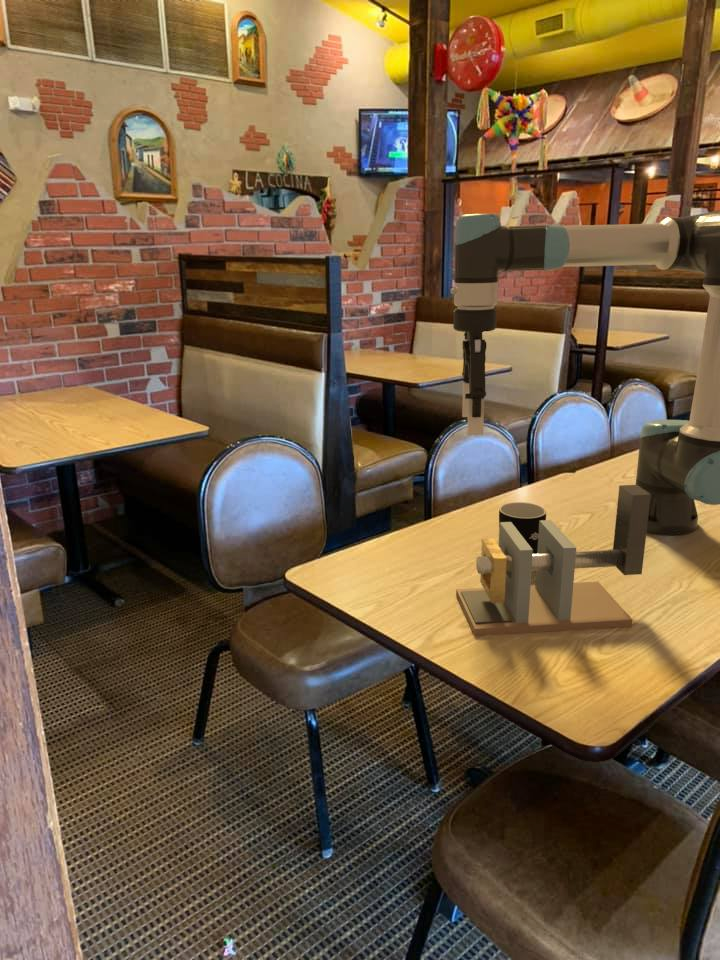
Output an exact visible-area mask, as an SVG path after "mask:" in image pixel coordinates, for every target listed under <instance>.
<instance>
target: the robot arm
mask: <svg viewBox="0 0 720 960" xmlns="http://www.w3.org/2000/svg"><path fill="white" fill-rule="evenodd" d="M455 222H456V223H455V233H454V241H453V245H454V285H453V286H454V287H453V288H451V289H450V294H452V295H453V304H454V306H456V307H457V308H455V309H454V310H453V325H452V326H453V330H454V331H456V332H462V333H464V334H463V336H464V339H462V343H461V344H462V357H463V362H462V363H463V364H462V372H461V376H462V381H463V383H462V408H461V409H462V410H461V413H462V415H461V417H462V418H467V428H466V429H467V432H466V434H467V436H483V435H484V417H485V398H486V395H487V391H486V358H487V357H486V351H487V341H486V339H483V332H493V331H494V330H496V329H497V318H498V316H497V315H498V311H497V310H496V308H495V306H497V305H498V296H499V295H498V293H499V292H498V291H499V272H530V271H531V272H535V271H537V272H538V271H539V272H540V271H543V272H547V271H552V270H553V271H555V270H561V269H562V268H564V267H565V268H566V267H567V268H571V267H577V268H578V267H609V266H610V267H611V266H615V267H617V266H643V265H644V266H649V265H650V266H651V265H655V267H656V268H657V269H659V270H662V271H663V270H665V271H666V270H677V271H685V272H686V271H687V272H692V273H698V274H703V281H702V287H703V288H704V290H705V291H706V292H707V293H708V295H709V301H708V306H707V311H706V312H707V313H706V319H705V323H704V324H705V325H704V330H703V337H702V343H701V348H700V349H701V350H700V354H699V355H700V356H699V360H698V368H697V372H696V379H695V384H694V389H693V390H694V391H693V397H692V403H691V408H690V415H689V420H687V419H685V420H684V419H683V420H682V419H656V420H650V421H646V422H645V423H644V424H643V425H642V427H641V432H640V436H639V446H638V447H639V448H638V456H637V457H638V458H637V460H638V461H637V469H636V478H635V485H638V486H639V487H641V488H642V489H644V490H645V491H647V492H648V493H649V494H651V498H650V507H649V515H648V524H647V533H650V534H651V533H652V534H656V535H664V536H665V535H668V536H671V535H672V536H674V535H677V536H678V535H679V536H680V535H686V534H689V533H692V532H694V531H696V529H697V528H698V522H699V516H698V515H699V514H698V511H697V506H696V502H695V501H697V502H701V503H702V504H705V505H710V506H711V505H712V506H718V505H719V506H720V210H715V211H714V210H713V211H709V212H704V213H703V212H702V213H700V214H699V213H698V214H694V215H686V216H680V217H666V218H664V219H662V220H660V222H659V223H631V224H629V223H628V224H626V223H625V224H624V223H623V224H593V225H592V224H589V225H588V224H587V225H561V224H549V223H548V224H531V225H530V224H527V225H511V226H509V225H502V223H501V217H500V216H499V214H498V213H472V214H471V213H469V214H462V215H459V217H458V218H457V219H456V221H455Z"/></svg>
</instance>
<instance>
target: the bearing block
mask: <svg viewBox="0 0 720 960" xmlns="http://www.w3.org/2000/svg"><path fill="white" fill-rule="evenodd" d="M498 546H499V547H500V549H501V550H502V552H503V553H504V555H511V557H512V568H511V572H506V580H505V600H504V603H496V604H492V602H491V600H490V599H489V597H488V595H487V593H486V591H485V590H484V588H483V587H474V588H473V587H472V588H458V589H457V588H455V589H456V590H455V595H456V598H457V599H458V600H457V601H458V602H459V604H460V607H461V609H462V611H463V613H464V615H465V617H466V619H467V622H468V624H469V626H470V629H471V630H472V633H473V635H474V636H489V635H490V636H492V635H505V634H506V635H508V634H510V635H511V634H524V633H537V632H538V633H541V632H555V631H557V632H559V631H574V630H575V631H576V630H592V629H606V628H609V629H610V628H623V627H626V628H627V627H633V621H634V620H633V618H632V617H631V616H630V615H629V614H628V613H627V611H625V609H624V608H623V607H622V606H621V605H620V604H619V602H617V600H616V599H615V598H614V597H613V596H612V595H611V594H610V592H608V591H607V589H606V588H605V587H604V586H603V585H602V584H601V583H600V582H599V581H586V582H585V581H584V582H574V580H575V572H576V571H575V559H576V552H577V546H576V545H575V544H573V542H572V541H571V540H570V539H569V538H568V537H567V535H565V534H564V533H563V531H561V529H560V528H559V527H558V526H557V525H556V524H555V522H553V521H552V520H551V519H546V520H540V521H539V535H538V551H537V554H540V553H553V555H554V563H553V570H539V571H535V581H534V582H535V584H532V572H533V571H532V555H533V549H532V548H531V547H530V546H529V544H528V543H527V542H526V540H525V539H524V538H523V537H522V535H521V534H520V533H519V531H518V530H517V529H516V528H515V526H514V525H513V524H512V522H500V525H499V524H498Z"/></svg>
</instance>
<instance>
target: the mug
mask: <svg viewBox="0 0 720 960" xmlns="http://www.w3.org/2000/svg"><path fill="white" fill-rule="evenodd" d="M540 520H547V510H546V509H545V507H543V506H541V505H538V504H535V503H531V502H522V501H519V502H518V501H517V502H509V503H505V504H502V505H501V506H500V507H499V512H498V526H499V525H500V522H512V524H513V525H514V526H515V528H516V529H517V530H518V531H519V533H520V534H521V535H522V537H523V538H524V539H525V540H526V542H527V543H528V544H529V546H530V547H531V548H532V549H533V554H537V551H538V535H539V521H540Z"/></svg>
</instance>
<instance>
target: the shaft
mask: <svg viewBox="0 0 720 960" xmlns="http://www.w3.org/2000/svg"><path fill="white" fill-rule="evenodd" d="M650 498H651V494H649V493H648V492H647V491H645V490H644V489H642V488H641V487H639V486H638V485H636V484H625V485H624V484H623V485H620V484H619V485H618V496H617V504H616V505H617V507H616V516H615V526H614V533H613V534H614V536H613V545H612V549H606V550H605V549H602V550H585V551H582V550H581V551H576V559H575V569H594V568H595V569H596V568H610V567H611V568H614V567H616V569H617V570H619V572H620V573H621V574H622V575H624V576H633V575H634V576H635V575H642V574H643V573H642V572H643V566H644V560H645V559H644V557H645V550H646V549H645V547H646V541H647V533H648V532H647V524H648V515H649V507H650ZM505 556H506V558H507V561H506V572H511V568H512V557H511V555H505ZM553 563H554V555H553V553H540V554H533V555H532V571H531V572H536V571H539V570H553ZM491 564H492V563H491V562H490V560H489V558H488V557H487V556H481V555H480V556H477V557H476V570H477V573H478V574H479V575H481V574H482V573H491Z"/></svg>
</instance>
